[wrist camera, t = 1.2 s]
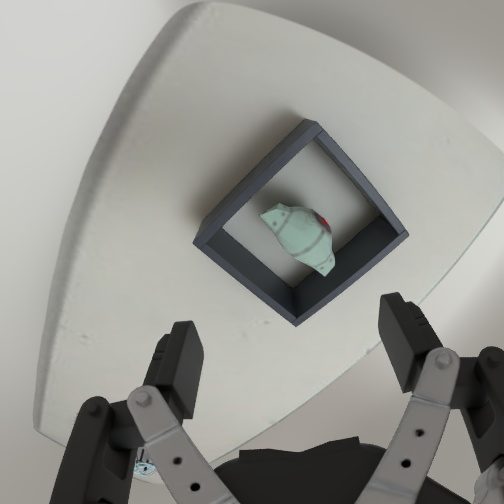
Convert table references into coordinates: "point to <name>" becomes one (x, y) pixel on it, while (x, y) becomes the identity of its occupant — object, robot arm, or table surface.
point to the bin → (315, 285)
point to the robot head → (302, 235)
